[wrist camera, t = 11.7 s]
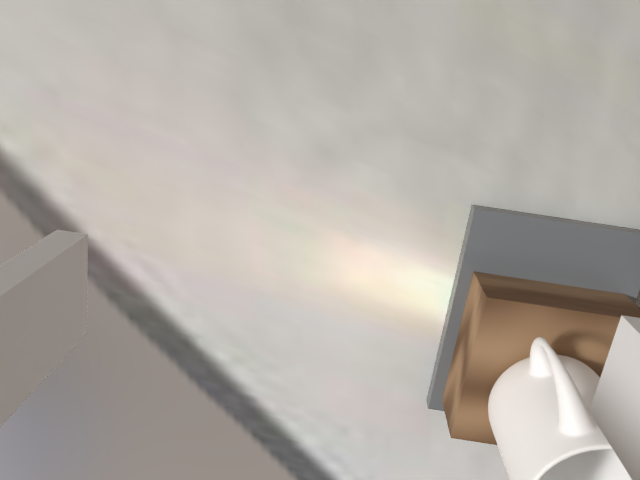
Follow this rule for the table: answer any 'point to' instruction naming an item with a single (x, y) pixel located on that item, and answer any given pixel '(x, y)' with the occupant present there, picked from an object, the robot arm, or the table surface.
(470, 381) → the walnut block
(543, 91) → the table surface
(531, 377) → the mug
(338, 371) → the table surface
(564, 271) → the slate tile
